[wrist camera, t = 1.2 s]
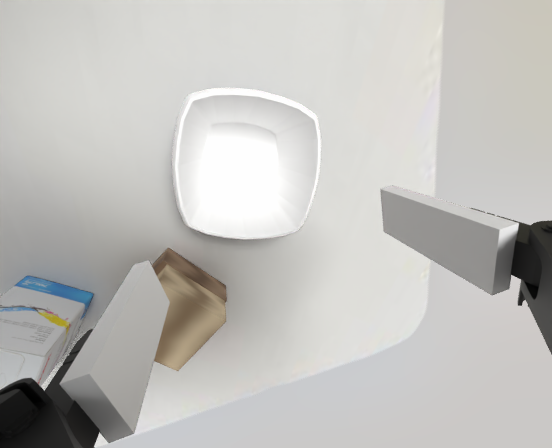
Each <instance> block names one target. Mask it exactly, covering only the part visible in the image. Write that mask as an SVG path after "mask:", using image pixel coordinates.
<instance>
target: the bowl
mask: <svg viewBox="0 0 552 448" xmlns="http://www.w3.org/2000/svg"><path fill="white" fill-rule="evenodd" d="M320 162H321V134H320V128H319V123H318V118H317V116H316V115H315V113H313V112H312V111H310V110H309V109H307V108H306V107H304V106H303V105H301V104H300V103H298V102H295V101H293V100H290V99H288V98H285V97H282V96H279V95H275V94H271V93H267V92H264V91H260V90H253V89H241V88H209V89H206V90H202V91H198V92H195V93H191V94H189V95H187V97H186V98H185V100H184V103H183V105H182V107H181V110H180V112H179V114H178V117H177V122H176V127H175V133H174V139H173V149H172V163H171V165H172V176H173V187H174V192H175V197H176V203H177V208H178V210H179V212H180V215H181V217H182V219H183V221H184V223H185V225H186V226H187V227H189V228H191V229H194V230H196V231H199V232H201V233H204V234H207V235H212V236H217V237H222V238H231V239H241V240H254V239H269V238H276V237H283V236H286V235H288V234H291V233H294V232H297V231H299V230H300V228H301V227H302V225H303V223H304V222H305V220H306V218H307V216H308V214H309V211H310V208H311V205H312V202H313V199H314V196H315V192H316V188H317V184H318V180H319V172H320Z"/></svg>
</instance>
